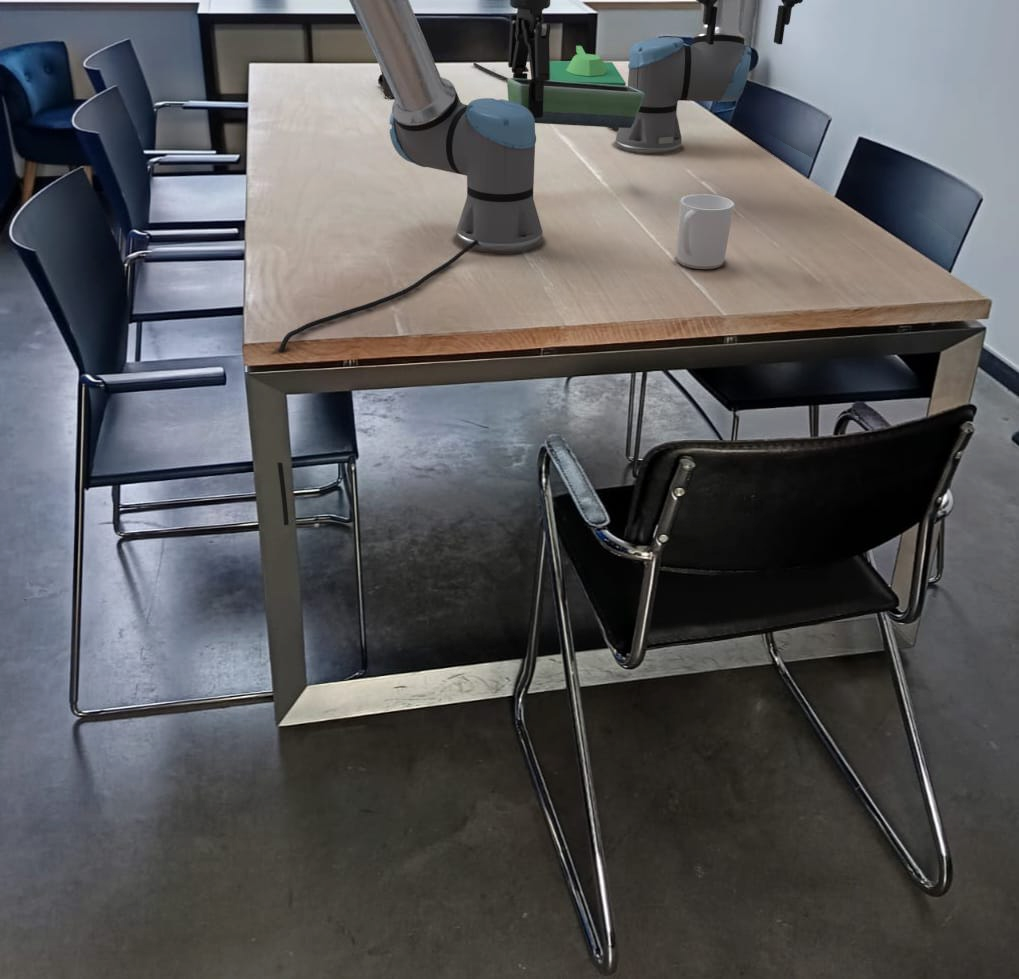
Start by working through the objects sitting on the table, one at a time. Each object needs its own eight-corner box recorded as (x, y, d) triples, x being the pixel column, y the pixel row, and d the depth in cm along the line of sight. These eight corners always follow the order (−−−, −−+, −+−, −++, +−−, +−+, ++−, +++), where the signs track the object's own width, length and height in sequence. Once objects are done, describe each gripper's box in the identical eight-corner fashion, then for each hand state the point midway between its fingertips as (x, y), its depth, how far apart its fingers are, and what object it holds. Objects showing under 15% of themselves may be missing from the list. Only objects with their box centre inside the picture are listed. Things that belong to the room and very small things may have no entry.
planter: (515, 124, 209) (520, 84, 206) (501, 115, 215) (505, 77, 212) (640, 130, 220) (646, 93, 217) (623, 122, 226) (629, 85, 222)
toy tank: (609, 42, 301) (627, 67, 272) (606, 88, 308) (623, 118, 278) (545, 41, 301) (556, 65, 271) (543, 87, 307) (553, 116, 277)
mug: (691, 248, 193) (697, 191, 188) (736, 260, 189) (743, 201, 183) (657, 264, 186) (663, 205, 181) (703, 277, 181) (710, 216, 176)
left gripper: (572, -10, 194) (566, 123, 206) (527, -24, 210) (524, 100, 222) (533, -8, 192) (530, 126, 204) (491, -23, 208) (490, 102, 220)
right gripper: (817, -83, 203) (799, 39, 214) (686, -84, 199) (675, 40, 211) (832, -80, 196) (813, 46, 207) (698, -81, 193) (685, 47, 204)
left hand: (527, 112), depth 213 cm, fingers closed on planter, 7 cm apart
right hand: (743, 43), depth 209 cm, fingers open, 13 cm apart
